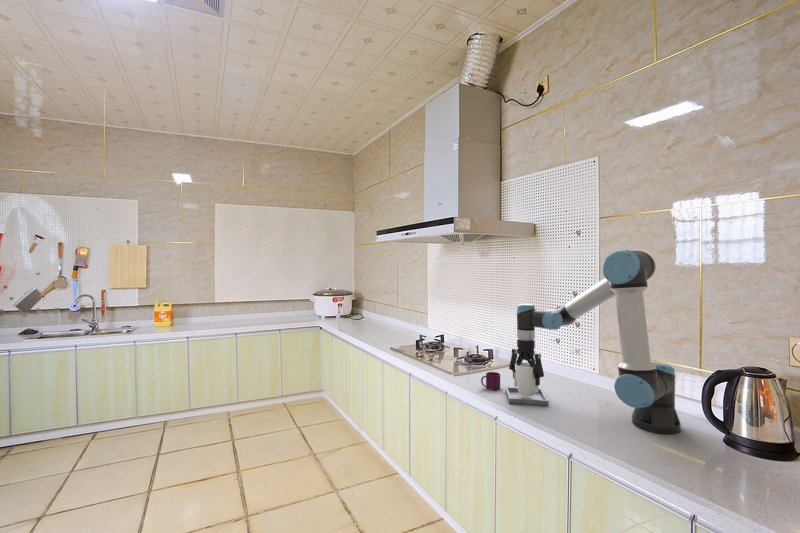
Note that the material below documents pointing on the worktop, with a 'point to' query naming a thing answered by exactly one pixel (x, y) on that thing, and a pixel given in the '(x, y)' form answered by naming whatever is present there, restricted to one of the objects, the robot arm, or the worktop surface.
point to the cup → (492, 380)
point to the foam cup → (524, 379)
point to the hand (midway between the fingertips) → (526, 389)
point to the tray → (526, 397)
